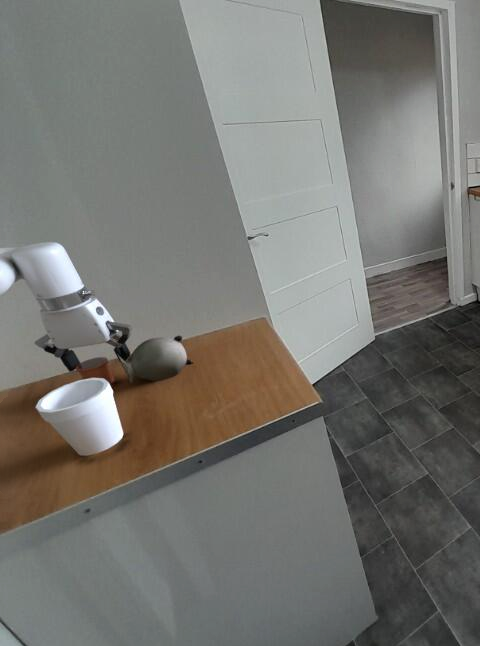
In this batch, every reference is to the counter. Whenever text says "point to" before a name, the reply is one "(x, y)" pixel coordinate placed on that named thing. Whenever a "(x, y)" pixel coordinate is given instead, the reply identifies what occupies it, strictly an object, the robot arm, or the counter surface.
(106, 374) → the pot
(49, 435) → the counter surface
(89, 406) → the foam cup
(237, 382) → the counter surface
